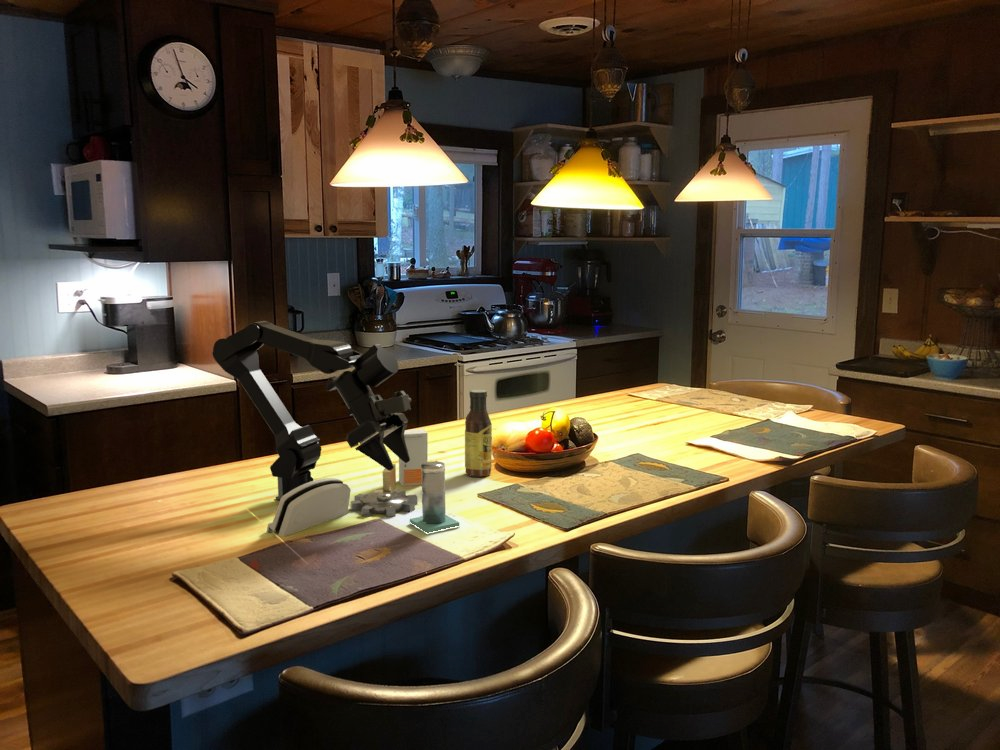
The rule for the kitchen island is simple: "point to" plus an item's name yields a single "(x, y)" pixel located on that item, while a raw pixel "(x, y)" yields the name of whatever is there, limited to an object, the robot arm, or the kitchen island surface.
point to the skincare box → (414, 457)
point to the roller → (433, 492)
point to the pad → (434, 527)
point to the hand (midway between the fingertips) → (400, 465)
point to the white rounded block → (310, 506)
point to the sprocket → (384, 498)
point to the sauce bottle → (478, 436)
